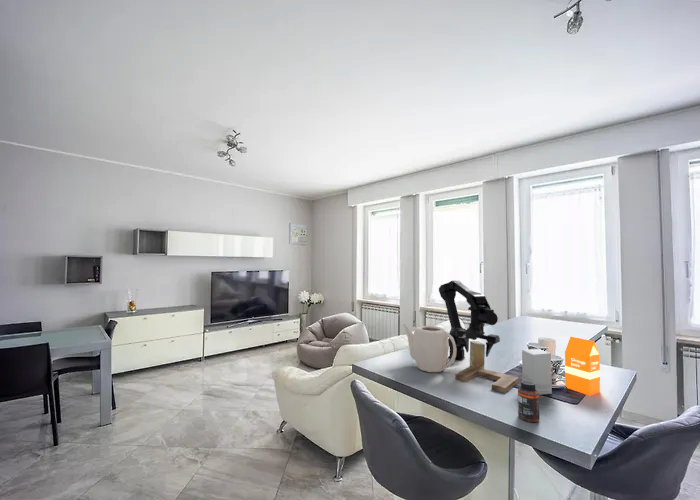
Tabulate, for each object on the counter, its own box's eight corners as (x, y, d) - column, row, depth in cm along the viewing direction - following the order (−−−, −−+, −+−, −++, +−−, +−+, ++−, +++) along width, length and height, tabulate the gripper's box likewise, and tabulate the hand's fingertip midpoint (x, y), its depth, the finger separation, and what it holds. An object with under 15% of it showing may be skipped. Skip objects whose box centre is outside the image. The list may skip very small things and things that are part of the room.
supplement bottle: (537, 415, 101) (536, 380, 102) (541, 424, 95) (541, 387, 96) (516, 412, 103) (516, 377, 104) (519, 421, 97) (519, 384, 98)
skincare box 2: (539, 387, 124) (539, 348, 125) (553, 394, 118) (553, 353, 119) (521, 388, 123) (521, 349, 124) (533, 395, 117) (533, 353, 117)
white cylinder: (550, 369, 146) (550, 337, 147) (558, 375, 140) (558, 341, 140) (535, 369, 147) (535, 337, 148) (543, 374, 140) (542, 340, 141)
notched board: (455, 378, 132) (455, 374, 132) (471, 370, 144) (471, 365, 144) (505, 393, 118) (505, 388, 118) (518, 382, 130) (518, 377, 130)
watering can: (410, 358, 160) (410, 321, 160) (462, 370, 143) (462, 329, 144) (394, 366, 147) (394, 325, 148) (449, 380, 131) (449, 334, 131)
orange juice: (589, 395, 118) (589, 342, 119) (564, 387, 126) (564, 337, 126) (600, 392, 121) (599, 340, 122) (575, 384, 129) (575, 335, 130)
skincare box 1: (469, 366, 149) (469, 340, 149) (478, 366, 149) (478, 340, 150) (475, 371, 143) (476, 344, 143) (485, 371, 143) (485, 344, 143)
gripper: (450, 320, 148) (450, 353, 147) (490, 326, 135) (490, 363, 134) (461, 317, 156) (460, 349, 155) (500, 323, 142) (500, 357, 142)
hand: (476, 354), depth 146 cm, fingers open, 9 cm apart
